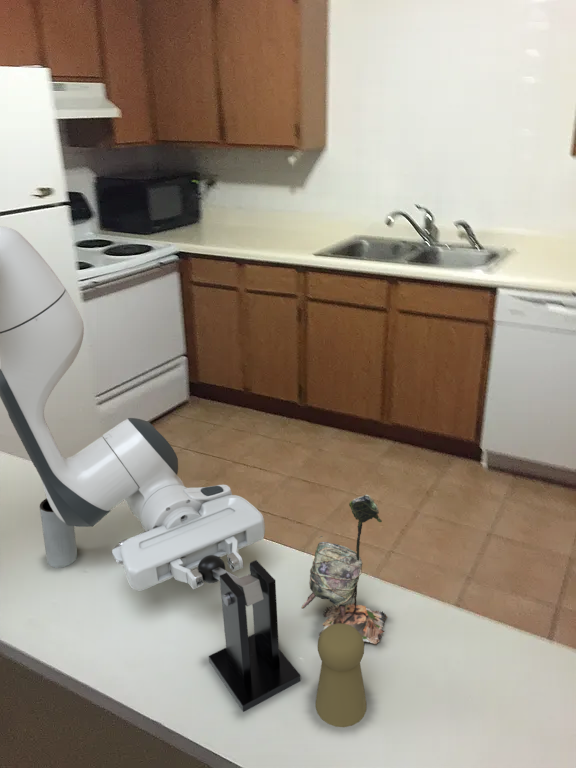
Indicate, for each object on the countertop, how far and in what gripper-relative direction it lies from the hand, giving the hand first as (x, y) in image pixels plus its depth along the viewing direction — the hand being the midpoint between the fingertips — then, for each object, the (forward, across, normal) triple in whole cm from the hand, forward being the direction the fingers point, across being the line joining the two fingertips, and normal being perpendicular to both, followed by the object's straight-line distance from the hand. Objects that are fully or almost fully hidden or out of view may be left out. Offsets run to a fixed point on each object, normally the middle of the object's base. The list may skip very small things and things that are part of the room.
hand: (218, 574), depth 87 cm
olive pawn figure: (+19, +6, +9) cm, 22 cm away
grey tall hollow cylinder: (-27, -15, +9) cm, 32 cm away
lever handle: (+4, 0, -1) cm, 5 cm away
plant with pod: (+9, +13, +9) cm, 19 cm away
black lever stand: (+9, -1, +9) cm, 13 cm away
